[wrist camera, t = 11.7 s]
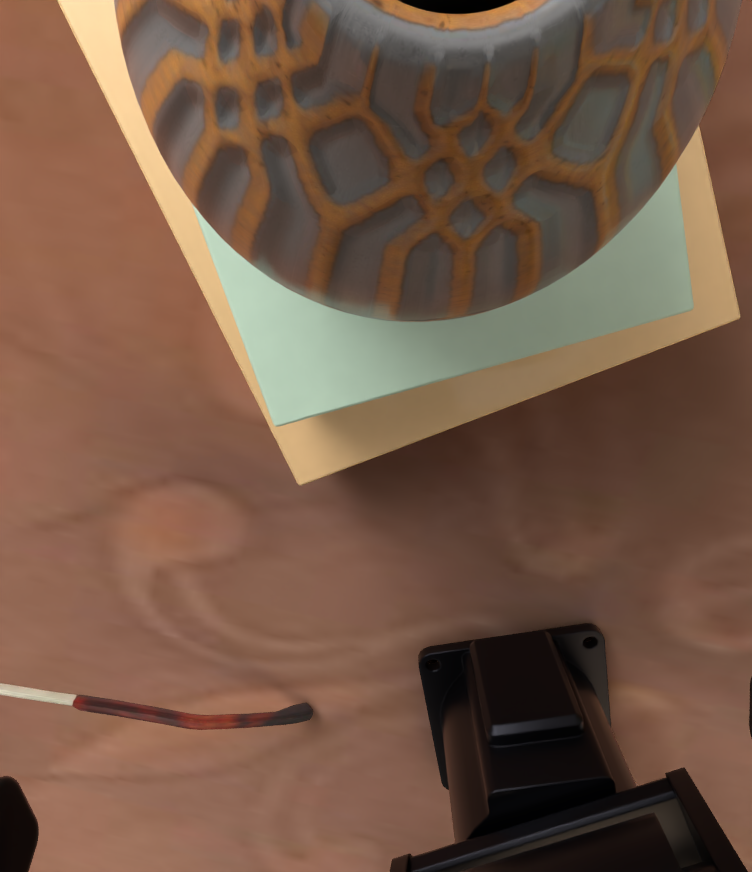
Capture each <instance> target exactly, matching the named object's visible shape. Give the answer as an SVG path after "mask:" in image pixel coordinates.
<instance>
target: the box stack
mask: <svg viewBox="0 0 752 872" xmlns="http://www.w3.org/2000/svg"><path fill="white" fill-rule="evenodd" d="M57 1H58V3H59V5H60V7H61V9H62V11H63V13H64V15H65V17H66V19H67V21H68V23H69V25H70V27H71V29H72V31H73V33H74V35H75V37H76V39H77V41H78V43H79V45H80V47H81V49H82V51H83V53H84V55H85V57H86V59H87V61H88V64H89V66H90V68H91V70H92V72H93V74H94V76H95V78H96V80H97V82H98V84H99V86H100V88H101V90H102V92H103V94H104V96H105V98H106V100H107V102H108V104H109V106H110V108H111V110H112V112H113V114H114V116H115V118H116V120H117V122H118V124H119V126H120V128H121V130H122V132H123V134H124V136H125V138H126V140H127V142H128V144H129V146H130V148H131V150H132V152H133V154H134V156H135V158H136V160H137V162H138V164H139V166H140V168H141V170H142V172H143V174H144V176H145V178H146V180H147V182H148V184H149V186H150V188H151V190H152V192H153V194H154V196H155V198H156V200H157V202H158V204H159V206H160V208H161V210H162V212H163V214H164V216H165V218H166V220H167V222H168V224H169V226H170V228H171V230H172V232H173V234H174V236H175V238H176V240H177V242H178V244H179V246H180V248H181V250H182V252H183V254H184V256H185V258H186V260H187V262H188V264H189V266H190V268H191V270H192V272H193V274H194V277H195V279H196V281H197V283H198V285H199V287H200V289H201V291H202V293H203V295H204V297H205V299H206V301H207V303H208V305H209V307H210V309H211V311H212V313H213V315H214V317H215V319H216V321H217V323H218V325H219V327H220V329H221V331H222V333H223V335H224V337H225V339H226V341H227V343H228V345H229V347H230V349H231V351H232V353H233V355H234V357H235V359H236V361H237V363H238V365H239V367H240V369H241V371H242V373H243V375H244V377H245V379H246V381H247V383H248V385H249V387H250V389H251V391H252V393H253V395H254V397H255V399H256V401H257V403H258V405H259V407H260V409H261V411H262V413H263V415H264V417H265V419H266V421H267V423H268V425H269V427H270V429H271V431H272V433H273V435H274V437H275V439H276V441H277V443H278V445H279V447H280V449H281V451H282V453H283V455H284V457H285V459H286V461H287V463H288V465H289V467H290V469H291V471H292V473H293V475H294V477H295V479H296V481H297V483H298V485H299V486H301V485H304V484H307V483H309V482H312V481H315V480H317V479H320V478H322V477H325V476H328V475H330V474H333V473H336V472H338V471H341V470H343V469H346V468H349V467H351V466H354V465H357V464H359V463H362V462H365V461H367V460H370V459H372V458H375V457H378V456H380V455H383V454H386V453H388V452H391V451H393V450H396V449H399V448H401V447H404V446H407V445H409V444H412V443H414V442H417V441H420V440H422V439H425V438H428V437H430V436H433V435H435V434H438V433H441V432H443V431H446V430H449V429H451V428H454V427H457V426H459V425H462V424H464V423H467V422H470V421H472V420H475V419H478V418H480V417H483V416H485V415H488V414H491V413H493V412H496V411H499V410H501V409H504V408H506V407H509V406H512V405H514V404H517V403H520V402H522V401H525V400H527V399H530V398H533V397H535V396H538V395H541V394H543V393H546V392H548V391H551V390H554V389H556V388H559V387H562V386H564V385H567V384H570V383H572V382H575V381H577V380H580V379H583V378H585V377H588V376H591V375H593V374H596V373H598V372H601V371H604V370H606V369H609V368H612V367H614V366H617V365H619V364H622V363H625V362H627V361H630V360H633V359H635V358H638V357H640V356H643V355H646V354H648V353H651V352H654V351H656V350H659V349H662V348H664V347H667V346H669V345H672V344H675V343H677V342H680V341H683V340H685V339H688V338H690V337H693V336H696V335H698V334H701V333H704V332H706V331H709V330H711V329H714V328H717V327H719V326H722V325H725V324H727V323H730V322H732V321H735V320H738V319H739V318H740V312H739V307H738V302H737V298H736V293H735V289H734V284H733V279H732V275H731V270H730V266H729V261H728V256H727V252H726V247H725V243H724V238H723V233H722V229H721V224H720V220H719V215H718V210H717V206H716V201H715V197H714V192H713V187H712V183H711V178H710V174H709V169H708V164H707V160H706V155H705V151H704V146H703V141H702V137H701V132H700V128H699V125H698V127H697V129H696V131H695V132H694V134H693V136H692V138H691V140H690V141H689V143H688V145H687V146H686V148H685V150H684V151H683V153H682V154H681V156H680V158H679V159H678V161H677V162H676V164H675V166H674V167H673V169H672V170H671V172H670V173H669V175H668V176H667V177H666V179H665V180H664V182H663V183H662V184H661V186H660V187H659V189H658V190H657V191H656V192H655V194H654V195H653V196H652V197H651V198H650V200H649V201H648V202H647V203H646V205H645V206H644V207H643V208H642V209H641V210H640V212H639V213H638V214H637V215H636V216H635V217H634V218H633V219H632V220H631V221H630V222H629V223H628V224H627V225H626V226H625V227H624V228H623V229H622V230H621V231H620V232H619V233H618V234H617V235H616V236H615V237H614V238H613V239H612V240H611V241H610V242H609V243H607V244H606V245H605V246H604V247H603V248H602V249H601V250H599V251H598V252H597V253H596V254H595V255H593V256H592V257H591V258H590V259H588V260H587V261H586V262H585V263H583V264H582V265H580V266H579V267H577V268H576V269H574V270H573V271H572V272H570V273H569V274H567V275H566V276H564V277H562V278H561V279H559V280H557V281H556V282H554V283H552V284H550V285H549V286H547V287H545V288H543V289H541V290H539V291H537V292H535V293H533V294H531V295H529V296H527V297H525V298H523V299H521V300H518V301H516V302H513V303H511V304H508V305H506V306H503V307H500V308H497V309H494V310H491V311H487V312H484V313H480V314H476V315H472V316H467V317H462V318H456V319H450V320H442V321H430V322H399V321H386V320H379V319H373V318H366V317H362V316H357V315H353V314H349V313H345V312H342V311H339V310H336V309H333V308H330V307H326V306H324V305H321V304H319V303H317V302H314V301H312V300H309V299H307V298H305V297H303V296H301V295H299V294H297V293H295V292H293V291H291V290H289V289H287V288H286V287H284V286H282V285H281V284H279V283H277V282H276V281H274V280H272V279H271V278H269V277H268V276H266V275H265V274H264V273H262V272H261V271H259V270H258V269H257V268H255V267H254V266H252V265H251V264H250V263H249V262H248V261H246V260H245V259H244V258H243V257H242V256H240V255H239V254H238V253H237V252H236V251H235V250H234V249H232V248H231V247H230V246H229V245H228V244H227V243H226V242H225V241H224V240H223V239H222V238H221V237H220V236H219V235H218V234H217V233H216V231H215V230H214V229H213V228H212V227H211V226H210V225H209V224H208V223H207V221H206V220H205V219H204V218H203V217H202V215H201V214H200V213H199V212H198V210H197V209H196V208H195V206H194V205H193V204H192V203H191V201H190V200H189V199H188V197H187V196H186V194H185V193H184V191H183V190H182V189H181V187H180V186H179V184H178V183H177V181H176V180H175V178H174V177H173V175H172V173H171V171H170V170H169V168H168V166H167V164H166V163H165V161H164V159H163V157H162V156H161V154H160V152H159V150H158V148H157V145H156V143H155V141H154V139H153V137H152V135H151V133H150V131H149V128H148V126H147V123H146V121H145V118H144V116H143V114H142V111H141V109H140V106H139V104H138V101H137V98H136V95H135V92H134V89H133V86H132V83H131V80H130V77H129V74H128V70H127V66H126V62H125V58H124V54H123V51H122V46H121V41H120V36H119V30H118V25H117V19H116V13H115V5H114V0H57Z"/></svg>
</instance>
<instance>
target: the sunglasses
mask: <svg viewBox="0 0 752 872" xmlns="http://www.w3.org/2000/svg"><path fill="white" fill-rule="evenodd" d="M0 695H6V696H12V697H18V698H24V699H30V700H36V701H43V702H50V703H56V704H63V705H69V706H74V707H75V708H76V709H78V710H81V711H87V712H94V713H100V714H107V715H114V716H120V717H126V718H132V719H138V720H143V721H149V722H155V723H161V724H166V725H171V726H176V727H181V728H187V729H197V730H206V729H231V728H249V727H261V726H273V725H286V724H293V723H299V722H303V721H307V720H310V719H311V718H312V716H313V710H312V709H311V708H310V706H309V705H308V704H307V703H302V704H297V705H293V706H290V707H288V708H285V709H282V710H280V711H277V712H268V713H253V714H228V715H196V714H188V713H183V712H178V711H173V710H168V709H163V708H157V707H152V706H146V705H140V704H135V703H129V702H124V701H118V700H112V699H105V698H98V697H91V696H85V695H75V694H67V693H59V692H52V691H46V690H40V689H34V688H28V687H22V686H16V685H9V684H3V683H0Z"/></svg>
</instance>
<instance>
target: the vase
mask: <svg viewBox="0 0 752 872" xmlns="http://www.w3.org/2000/svg"><path fill="white" fill-rule="evenodd" d="M741 2H742V0H114V5H115V13H116V19H117V25H118V30H119V36H120V41H121V46H122V51H123V54H124V58H125V62H126V66H127V70H128V74H129V77H130V80H131V83H132V86H133V89H134V92H135V95H136V98H137V101H138V104H139V106H140V109H141V111H142V114H143V116H144V118H145V121H146V123H147V126H148V128H149V131H150V133H151V135H152V137H153V139H154V141H155V143H156V145H157V148H158V150H159V152H160V154H161V156H162V157H163V159H164V161H165V163H166V164H167V166H168V168H169V170H170V171H171V173H172V175H173V177H174V178H175V180H176V181H177V183H178V184H179V186H180V187H181V189H182V190H183V191H184V193H185V194H186V196H187V197H188V199H189V200H190V201H191V203H192V204H193V205H194V206H195V208H196V209H197V210H198V212H199V213H200V214H201V215H202V217H203V218H204V219H205V220H206V221H207V223H208V224H209V225H210V226H211V227H212V228H213V229H214V230H215V231H216V233H217V234H218V235H219V236H220V237H221V238H222V239H223V240H224V241H225V242H226V243H227V244H228V245H229V246H230V247H231V248H232V249H234V250H235V251H236V252H237V253H238V254H239V255H240V256H242V257H243V258H244V259H245V260H246V261H248V262H249V263H250V264H251V265H252V266H254V267H255V268H257V269H258V270H259V271H261V272H262V273H264V274H265V275H266V276H268V277H269V278H271V279H272V280H274V281H276V282H277V283H279V284H281V285H282V286H284V287H286V288H287V289H289V290H291V291H293V292H295V293H297V294H299V295H301V296H303V297H305V298H307V299H309V300H312V301H314V302H317V303H319V304H321V305H324V306H326V307H330V308H333V309H336V310H339V311H342V312H345V313H349V314H353V315H357V316H362V317H366V318H373V319H379V320H386V321H399V322H430V321H442V320H450V319H456V318H462V317H467V316H472V315H476V314H480V313H484V312H487V311H491V310H494V309H497V308H500V307H503V306H506V305H508V304H511V303H513V302H516V301H518V300H521V299H523V298H525V297H527V296H529V295H531V294H533V293H535V292H537V291H539V290H541V289H543V288H545V287H547V286H549V285H550V284H552V283H554V282H556V281H557V280H559V279H561V278H562V277H564V276H566V275H567V274H569V273H570V272H572V271H573V270H574V269H576V268H577V267H579V266H580V265H582V264H583V263H585V262H586V261H587V260H588V259H590V258H591V257H592V256H593V255H595V254H596V253H597V252H598V251H599V250H601V249H602V248H603V247H604V246H605V245H606V244H607V243H609V242H610V241H611V240H612V239H613V238H614V237H615V236H616V235H617V234H618V233H619V232H620V231H621V230H622V229H623V228H624V227H625V226H626V225H627V224H628V223H629V222H630V221H631V220H632V219H633V218H634V217H635V216H636V215H637V214H638V213H639V212H640V210H641V209H642V208H643V207H644V206H645V205H646V203H647V202H648V201H649V200H650V198H651V197H652V196H653V195H654V194H655V192H656V191H657V190H658V189H659V187H660V186H661V184H662V183H663V182H664V180H665V179H666V177H667V176H668V175H669V173H670V172H671V170H672V169H673V167H674V166H675V164H676V162H677V161H678V159H679V158H680V156H681V154H682V153H683V151H684V150H685V148H686V146H687V145H688V143H689V141H690V140H691V138H692V136H693V134H694V132H695V131H696V129H697V127H698V125H699V123H700V121H701V119H702V117H703V115H704V113H705V111H706V109H707V107H708V104H709V102H710V100H711V98H712V96H713V93H714V91H715V89H716V86H717V83H718V81H719V78H720V75H721V73H722V70H723V67H724V65H725V62H726V58H727V55H728V52H729V49H730V45H731V42H732V39H733V35H734V32H735V28H736V24H737V20H738V15H739V11H740V7H741Z"/></svg>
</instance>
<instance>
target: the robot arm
mask: <svg viewBox="0 0 752 872" xmlns="http://www.w3.org/2000/svg"><path fill="white" fill-rule="evenodd" d="M587 637H593V638H592V639H591V640H590V641H583V640H584V639H585V638H587ZM432 659H433V660H437V662H436V663H434V664H432V663H428V661H429V660H432ZM418 661H419V670H420V675H421V680H422V685H423V690H424V695H425V700H426V705H427V710H428V715H429V720H430V725H431V730H432V736H433V741H434V746H435V751H436V756H437V761H438V766H439V771H440V776H441V781H442V784H443V786H444V787H445V788H446V789H448V790H449V794H450V803H451V811H452V820H453V829H454V837H455V844H452V845H449V846H445V847H442V848H439V849H436V850H433V851H429V852H426V853H423V854H420V855H417V856H413V857H412V855H411V854H407V855H404V856H401V857H398V858H394V859H393V860H392V863H391V869H390V872H748V871H747V870H746V868H745V866H744V865H743V863H742V861H741V860H740V858H739V856H738V855H737V853H736V851H735V850H734V848H733V847H732V845H731V843H730V842H729V840H728V838H727V837H726V835H725V833H724V832H723V830H722V828H721V827H720V825H719V823H718V822H717V820H716V819H715V817H714V815H713V814H712V812H711V810H710V809H709V807H708V805H707V804H706V802H705V800H704V799H703V797H702V795H701V794H700V792H699V791H698V789H697V787H696V786H695V784H694V782H693V781H692V779H691V777H690V776H689V774H688V772H687V771H686V769H685V768H681V769H678V770H674V771H671V772H668V773H665V774H666V778H662V779H659V780H656V781H653V782H650V783H646V784H643V785H640V786H636V784H635V782H634V780H633V777H632V775H631V773H630V770H629V768H628V766H627V764H626V761H625V759H624V757H623V754H622V752H621V750H620V748H619V745H618V743H617V741H616V738H615V736H614V734H613V732H612V729H611V720H610V707H609V693H608V680H607V666H606V653H605V640H604V637H603V635H602V633H601V631H600V629H599V628H598V627H597V626H596V625H593V624H580V625H573V626H566V627H560V628H553V629H546V630H539V631H532V632H525V633H519V634H512V635H505V636H498V637H491V638H484V639H478V640H471V641H464V642H457V643H450V644H443V645H437V646H430V647H427V648H424V649H423V650H422V651H421V652H420V654H419V657H418ZM749 727H750V734H751V737H752V677H751V681H750V715H749ZM38 834H39V829H38V822H37V819H36V817H35V815H34V813H33V811H32V809H31V807H30V805H29V803H28V801H27V799H26V797H25V795H24V793H23V791H22V789H21V787H20V785H19V783H18V782H17V780H15V779H14V778H12V777H9V776H3V777H0V872H28V871H29V868H30V865H31V862H32V859H33V855H34V852H35V849H36V846H37V841H38Z"/></svg>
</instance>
